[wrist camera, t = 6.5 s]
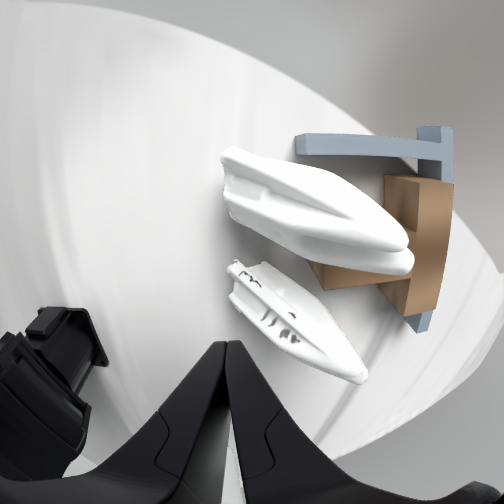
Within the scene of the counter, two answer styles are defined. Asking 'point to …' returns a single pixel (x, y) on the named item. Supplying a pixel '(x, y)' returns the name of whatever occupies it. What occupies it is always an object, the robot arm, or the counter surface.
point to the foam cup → (231, 481)
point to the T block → (420, 244)
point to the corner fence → (424, 148)
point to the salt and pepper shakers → (307, 252)
